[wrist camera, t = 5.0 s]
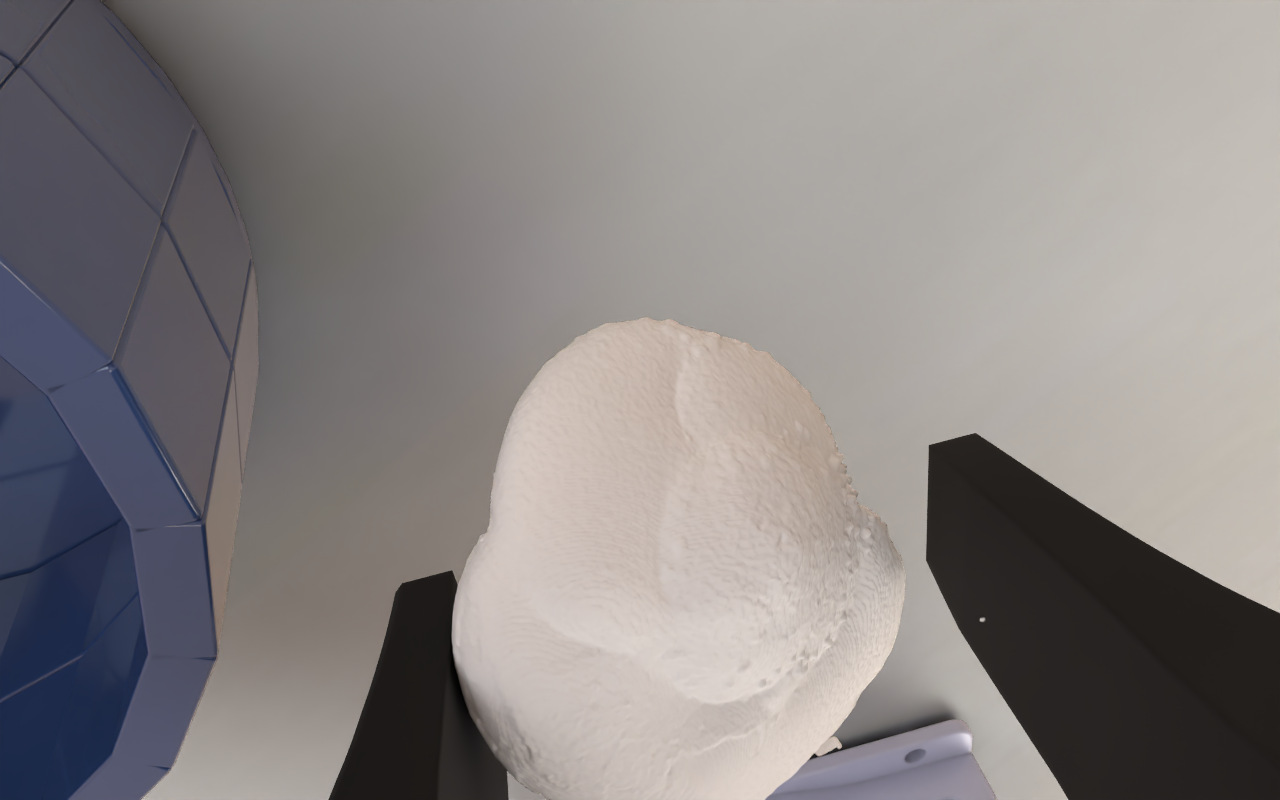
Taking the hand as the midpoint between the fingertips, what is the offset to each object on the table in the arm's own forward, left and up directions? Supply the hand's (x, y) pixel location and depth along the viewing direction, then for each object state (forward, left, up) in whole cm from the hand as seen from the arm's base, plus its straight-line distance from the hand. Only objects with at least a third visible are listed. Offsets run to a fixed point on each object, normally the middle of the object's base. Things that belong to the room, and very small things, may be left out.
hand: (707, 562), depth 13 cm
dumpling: (0, 0, -2) cm, 2 cm away
